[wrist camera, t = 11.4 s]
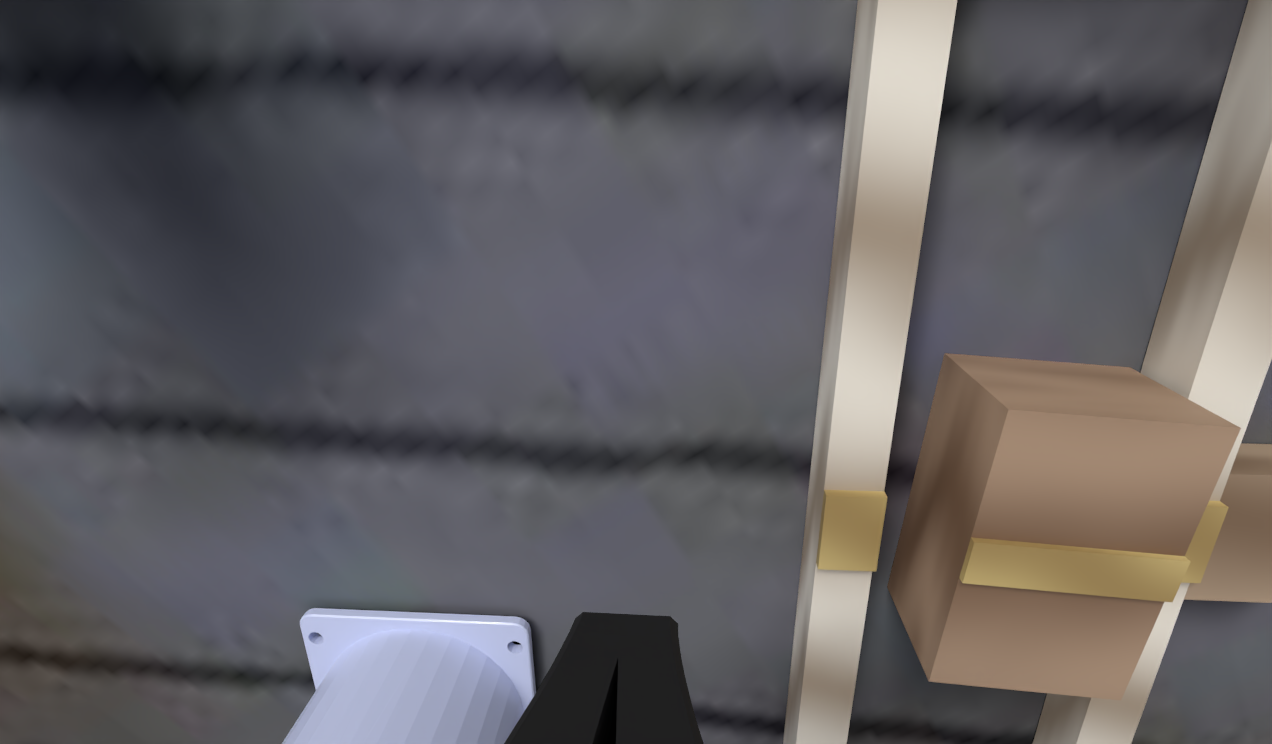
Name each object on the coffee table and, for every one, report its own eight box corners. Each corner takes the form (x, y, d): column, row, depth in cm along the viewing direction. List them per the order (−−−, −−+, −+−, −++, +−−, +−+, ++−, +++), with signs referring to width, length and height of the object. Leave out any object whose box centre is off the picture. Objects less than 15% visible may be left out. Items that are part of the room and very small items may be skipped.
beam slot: (1130, 849, 24) (1170, 913, 22) (774, 827, 25) (782, 886, 23) (1552, -209, 13) (1706, -268, 11) (876, -182, 14) (908, -233, 12)
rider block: (1042, 597, 21) (1125, 707, 17) (885, 582, 21) (931, 687, 17) (1125, 364, 18) (1248, 432, 14) (941, 350, 18) (1012, 412, 14)
